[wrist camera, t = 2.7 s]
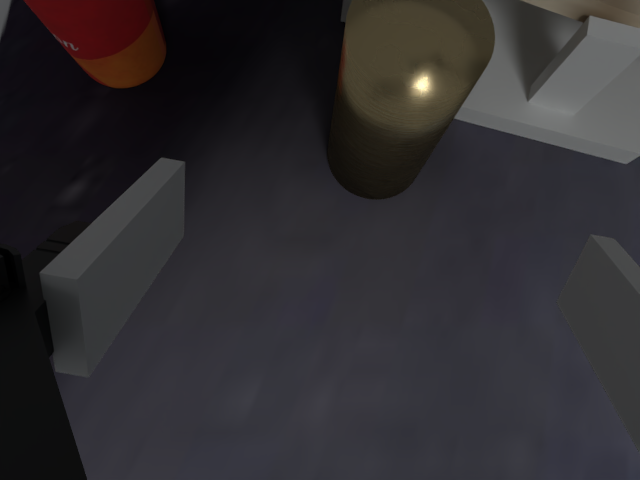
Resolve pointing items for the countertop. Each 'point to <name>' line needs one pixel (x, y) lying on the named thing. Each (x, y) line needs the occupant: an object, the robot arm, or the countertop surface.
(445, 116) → the olive round cylinder
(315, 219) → the countertop surface
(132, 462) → the countertop surface
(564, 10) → the beam
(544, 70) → the seesaw stand
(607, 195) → the countertop surface
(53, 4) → the paper cup
